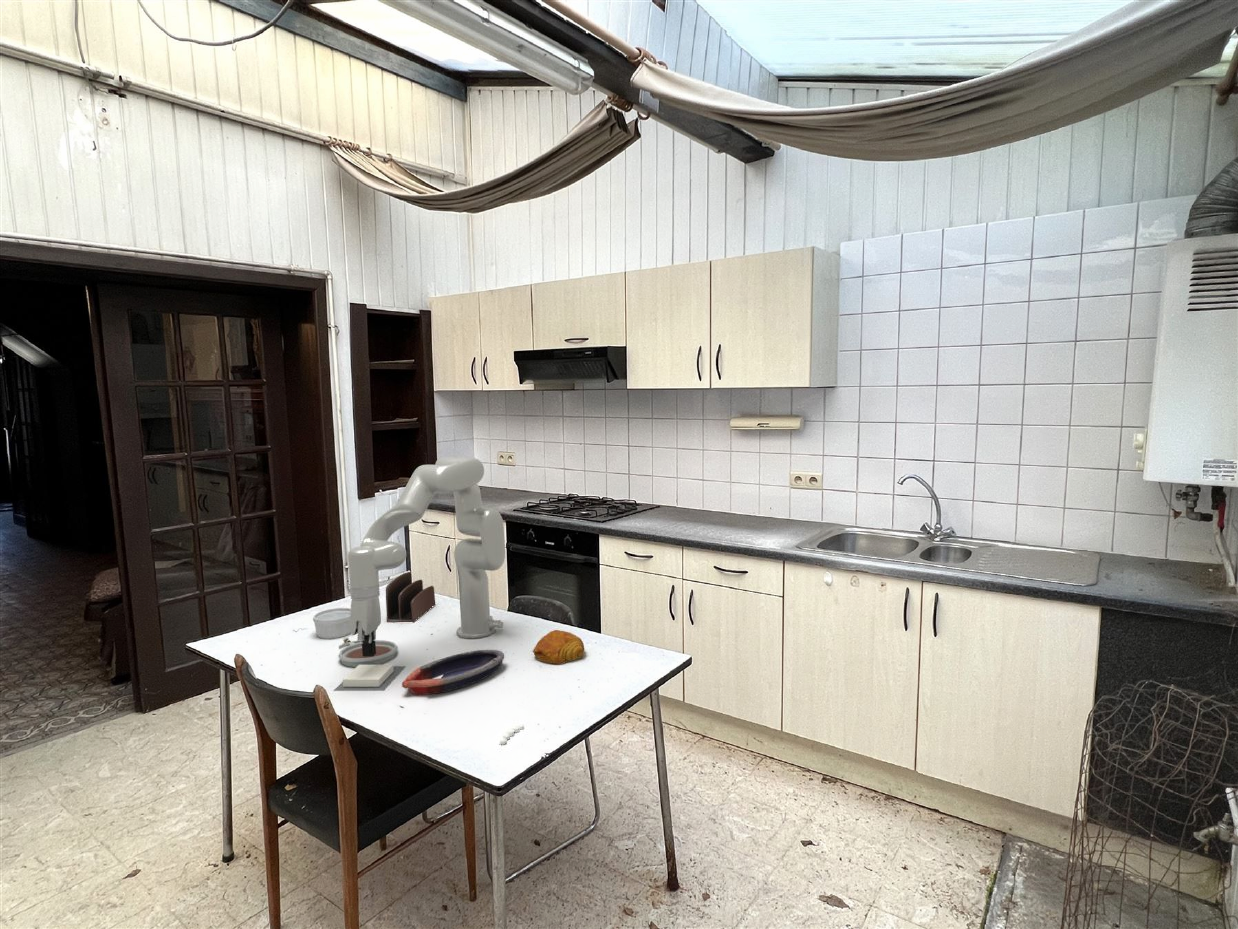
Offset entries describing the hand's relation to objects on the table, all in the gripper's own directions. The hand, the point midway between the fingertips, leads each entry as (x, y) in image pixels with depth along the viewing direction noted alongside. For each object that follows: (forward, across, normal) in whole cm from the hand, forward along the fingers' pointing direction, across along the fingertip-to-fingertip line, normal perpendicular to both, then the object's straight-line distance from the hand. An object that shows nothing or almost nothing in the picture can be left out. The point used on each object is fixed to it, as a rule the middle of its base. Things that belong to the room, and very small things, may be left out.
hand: (369, 655), depth 188 cm
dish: (+8, 0, +24) cm, 25 cm away
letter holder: (+8, -57, -9) cm, 58 cm away
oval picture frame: (+7, -19, -11) cm, 23 cm away
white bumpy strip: (+8, +32, +46) cm, 57 cm away
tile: (+5, -4, 0) cm, 7 cm away
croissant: (+8, -17, +50) cm, 54 cm away
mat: (+7, 0, 0) cm, 7 cm away
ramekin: (+7, -37, -28) cm, 47 cm away
